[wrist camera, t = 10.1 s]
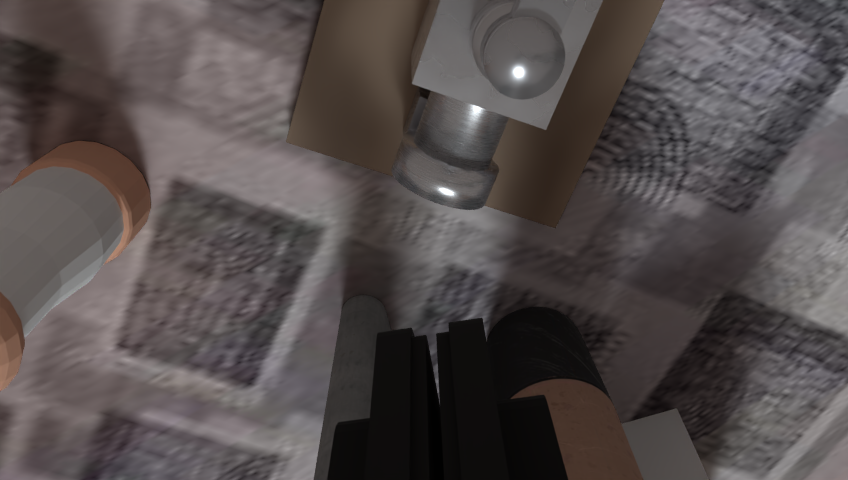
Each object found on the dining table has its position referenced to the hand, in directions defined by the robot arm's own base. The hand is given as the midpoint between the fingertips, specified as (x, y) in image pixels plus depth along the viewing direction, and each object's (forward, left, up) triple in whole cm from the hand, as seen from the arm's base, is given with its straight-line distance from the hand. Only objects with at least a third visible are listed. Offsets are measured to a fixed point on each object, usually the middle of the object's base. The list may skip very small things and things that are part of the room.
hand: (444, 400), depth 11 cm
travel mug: (-15, +18, -33) cm, 40 cm away
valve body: (-3, -3, -31) cm, 31 cm away
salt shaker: (+17, +16, -33) cm, 40 cm away
